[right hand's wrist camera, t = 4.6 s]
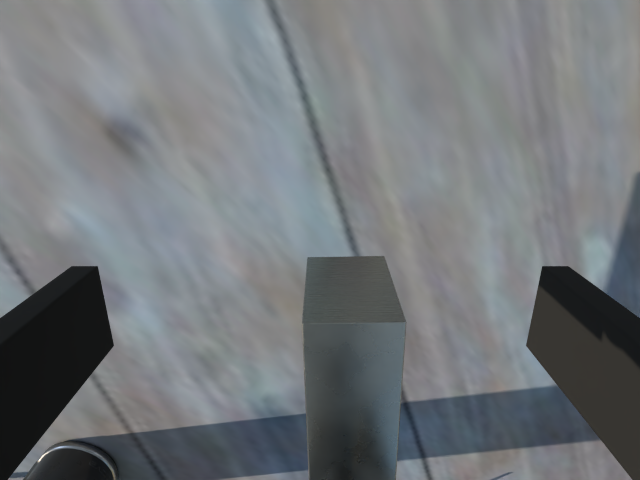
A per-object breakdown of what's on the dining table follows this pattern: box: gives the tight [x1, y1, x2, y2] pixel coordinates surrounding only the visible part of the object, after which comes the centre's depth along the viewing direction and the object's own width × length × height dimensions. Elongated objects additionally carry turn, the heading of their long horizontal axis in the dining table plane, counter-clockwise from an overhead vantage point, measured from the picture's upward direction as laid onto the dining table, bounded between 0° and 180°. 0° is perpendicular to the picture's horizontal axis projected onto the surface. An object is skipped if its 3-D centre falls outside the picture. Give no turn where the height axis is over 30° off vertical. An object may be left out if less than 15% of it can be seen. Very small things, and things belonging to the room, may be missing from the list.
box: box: [302, 256, 406, 480], centre depth 32 cm, size 23×6×9 cm, turn 1°
